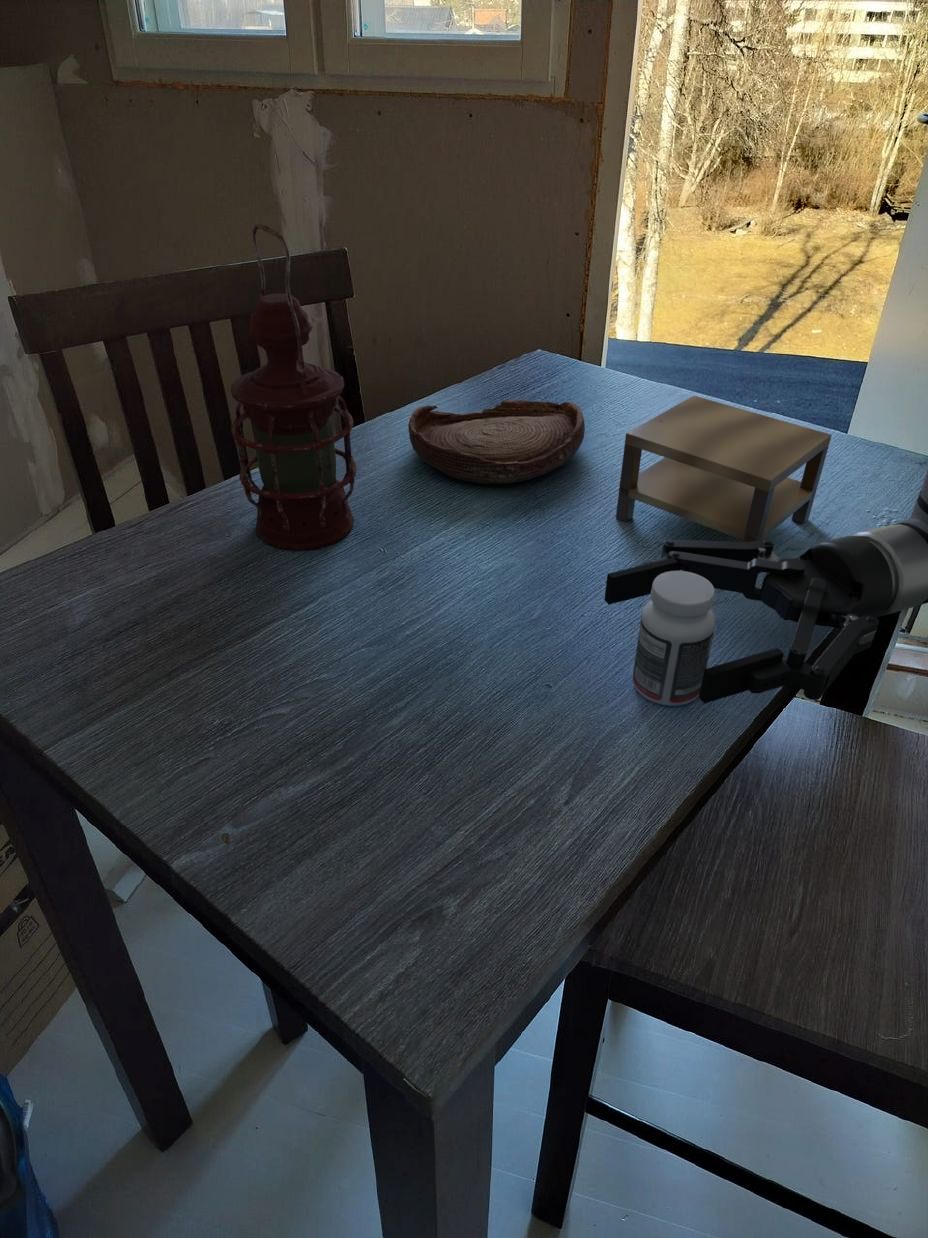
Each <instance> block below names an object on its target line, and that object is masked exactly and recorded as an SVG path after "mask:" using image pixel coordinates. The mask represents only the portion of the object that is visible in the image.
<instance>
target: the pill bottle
mask: <svg viewBox="0 0 928 1238" xmlns="http://www.w3.org/2000/svg"><path fill="white" fill-rule="evenodd" d="M715 593H716V591H715V588H714V587H713V585H712V584H711V583H710V582H709V581H708V580H707V579H705V578H704V577H702V576H700V575H698V574H695V573H691V572H686V571H683V570H680V571H670V572H665V573H662V574H660V575H659V576H657V577H656V578H655V580H654V581H653V585H652V589H651V594H650V600H649V601H648V602H647V603H646V604H645V605H644V607H643V609H642V612H641V617H640V624H639V629H638V636H637V644H636V649H635V650H636V651H635V657H634V658H635V659H634V663H633V671H632V683H633V686H634V688H635V690H636V691H637V692H638V693H639V694H640V695H641V696H642V697H643V698H645V699H646V700H647V701H649V702H651V703H655V704H657V705H661V706H667V707H669V706H670V707H677V706H684V705H687V704H689V703H692V702H694V701H695V700H696V699H697V698H699V693H700V688H701V684H702V679H703V675H704V670H705V669H707V668H708V662H709V658H710V653H711V648H712V643H713V640H714V639H713V638H714V633H715V629H716V617H715V614H714V612H713V610H712V607H713V605H714V598H715Z"/></svg>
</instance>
